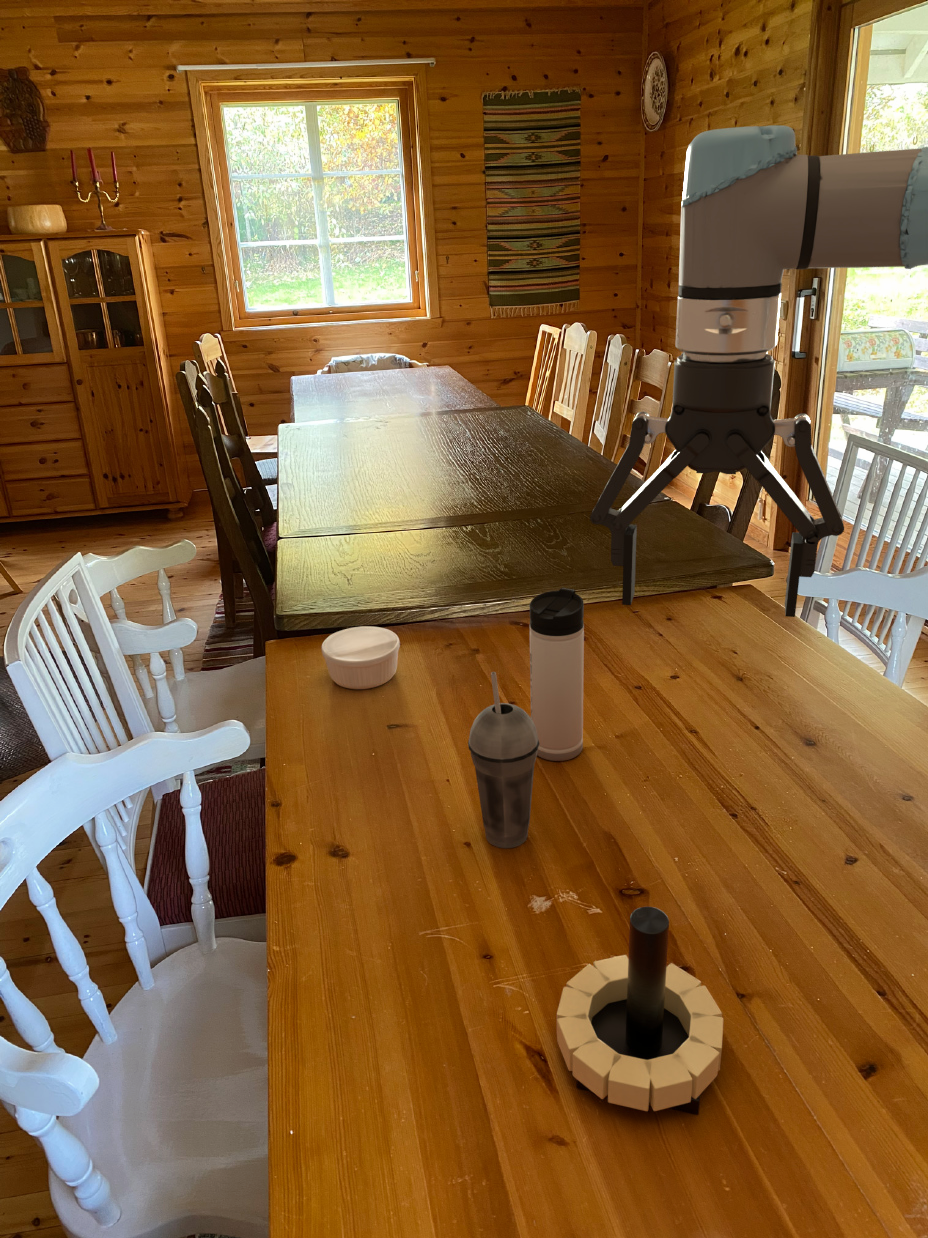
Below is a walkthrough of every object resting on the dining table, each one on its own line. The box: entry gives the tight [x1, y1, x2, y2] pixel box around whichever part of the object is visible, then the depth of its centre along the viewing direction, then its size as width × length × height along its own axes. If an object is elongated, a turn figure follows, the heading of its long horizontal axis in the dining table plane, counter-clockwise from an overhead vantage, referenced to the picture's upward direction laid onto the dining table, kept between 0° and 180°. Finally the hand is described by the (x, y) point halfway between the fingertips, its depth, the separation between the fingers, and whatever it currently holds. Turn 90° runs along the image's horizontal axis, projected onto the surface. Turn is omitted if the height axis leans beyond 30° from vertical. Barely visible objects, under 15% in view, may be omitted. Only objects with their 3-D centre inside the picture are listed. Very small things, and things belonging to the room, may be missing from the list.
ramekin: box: [321, 625, 401, 690], centre depth 131 cm, size 11×11×5 cm
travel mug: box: [529, 587, 585, 762], centre depth 108 cm, size 6×7×20 cm
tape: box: [556, 954, 724, 1112], centre depth 71 cm, size 12×12×2 cm
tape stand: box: [576, 906, 701, 1115], centre depth 69 cm, size 9×9×14 cm
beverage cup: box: [467, 671, 540, 849], centre depth 93 cm, size 7×7×20 cm
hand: (707, 605), depth 80 cm, fingers open, 13 cm apart
